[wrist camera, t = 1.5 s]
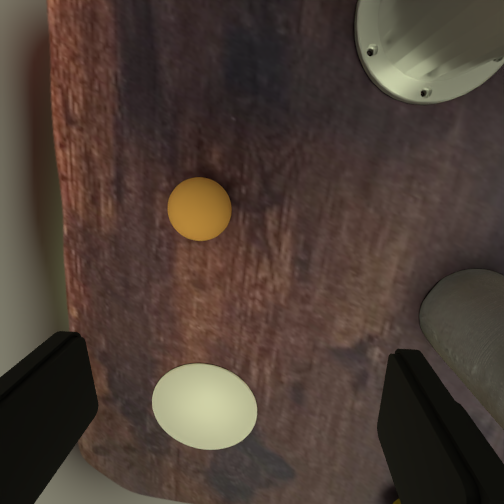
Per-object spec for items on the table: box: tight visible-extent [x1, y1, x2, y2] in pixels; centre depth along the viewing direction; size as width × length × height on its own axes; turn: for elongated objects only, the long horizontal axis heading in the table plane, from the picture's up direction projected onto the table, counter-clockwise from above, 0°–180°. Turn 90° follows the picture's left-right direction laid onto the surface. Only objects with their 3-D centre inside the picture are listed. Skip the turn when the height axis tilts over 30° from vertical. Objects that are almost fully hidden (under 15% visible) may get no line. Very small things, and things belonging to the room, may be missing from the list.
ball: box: [168, 177, 232, 241], centre depth 27 cm, size 6×6×6 cm
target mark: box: [152, 363, 257, 450], centre depth 37 cm, size 13×13×1 cm
